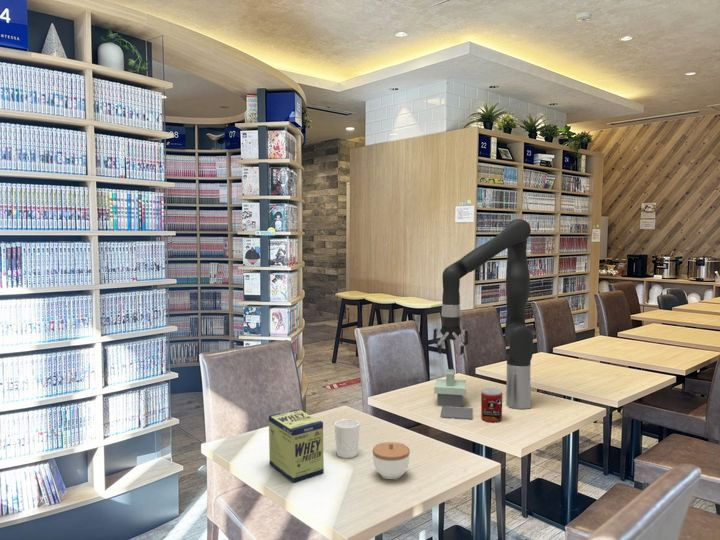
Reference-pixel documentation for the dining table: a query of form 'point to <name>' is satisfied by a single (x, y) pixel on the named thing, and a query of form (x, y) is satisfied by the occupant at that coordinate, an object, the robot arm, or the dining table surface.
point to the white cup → (347, 438)
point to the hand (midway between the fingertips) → (450, 354)
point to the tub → (449, 400)
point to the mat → (457, 413)
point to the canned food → (491, 405)
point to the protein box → (296, 445)
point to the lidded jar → (391, 459)
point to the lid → (450, 384)
